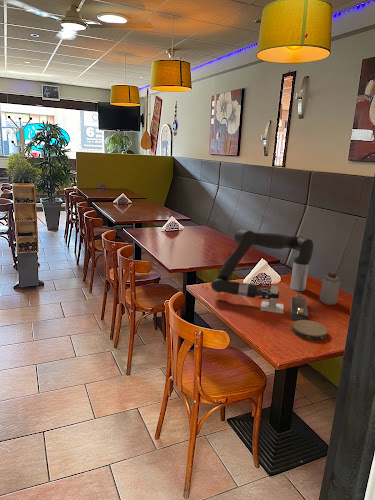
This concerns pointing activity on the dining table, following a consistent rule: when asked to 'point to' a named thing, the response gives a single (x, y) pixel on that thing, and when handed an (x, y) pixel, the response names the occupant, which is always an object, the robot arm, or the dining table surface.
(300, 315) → the hand plane
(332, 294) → the perfume bottle
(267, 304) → the rubber mat
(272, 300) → the lever cap
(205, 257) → the dining table surface
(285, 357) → the dining table surface
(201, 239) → the dining table surface
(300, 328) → the brown round disc
